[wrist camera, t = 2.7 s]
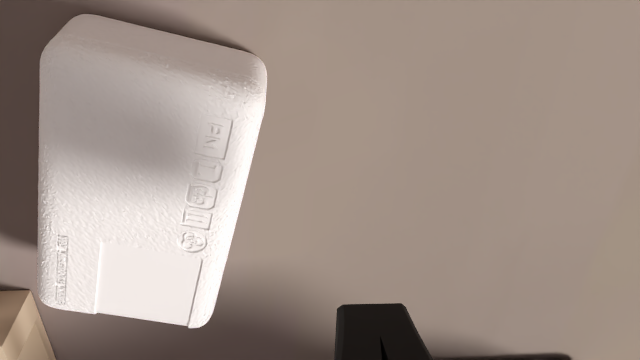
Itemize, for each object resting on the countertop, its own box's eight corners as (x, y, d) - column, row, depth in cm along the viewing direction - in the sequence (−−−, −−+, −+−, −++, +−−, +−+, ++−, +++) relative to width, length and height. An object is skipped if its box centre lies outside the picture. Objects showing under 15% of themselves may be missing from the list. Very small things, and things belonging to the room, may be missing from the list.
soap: (71, -1, 15) (29, 42, 13) (273, 50, 16) (270, 97, 14) (61, 249, 20) (29, 314, 18) (217, 275, 21) (208, 341, 19)
